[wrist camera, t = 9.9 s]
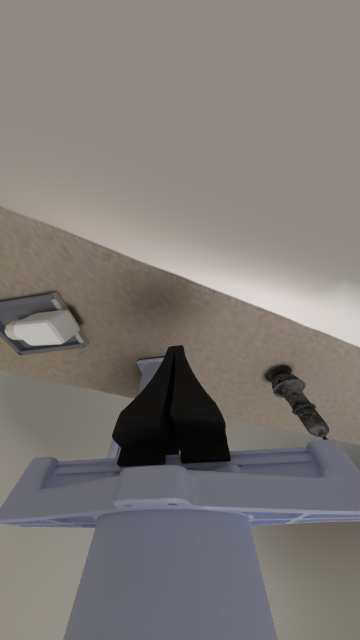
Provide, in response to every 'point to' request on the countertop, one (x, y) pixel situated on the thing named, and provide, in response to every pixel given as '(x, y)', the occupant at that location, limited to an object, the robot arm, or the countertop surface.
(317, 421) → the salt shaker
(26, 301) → the tray
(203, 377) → the countertop surface
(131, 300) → the countertop surface
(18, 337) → the pepper shaker
